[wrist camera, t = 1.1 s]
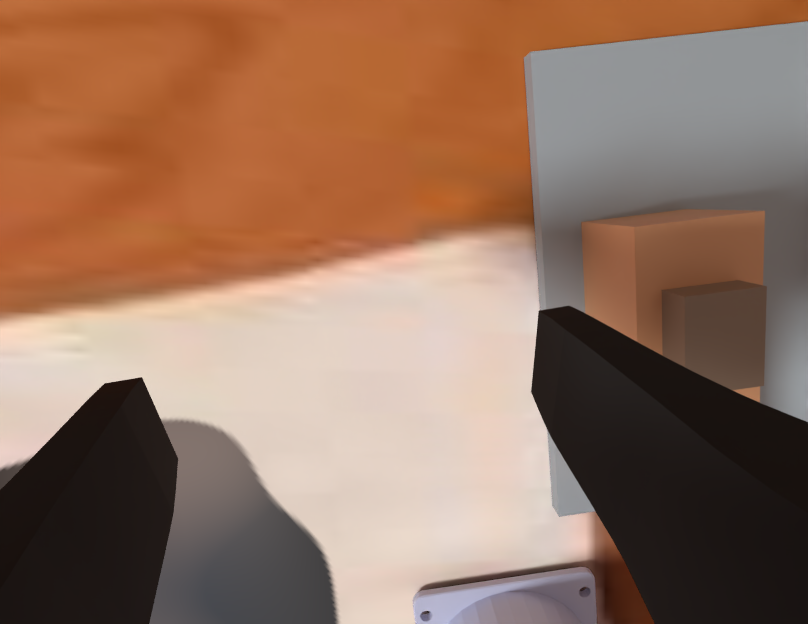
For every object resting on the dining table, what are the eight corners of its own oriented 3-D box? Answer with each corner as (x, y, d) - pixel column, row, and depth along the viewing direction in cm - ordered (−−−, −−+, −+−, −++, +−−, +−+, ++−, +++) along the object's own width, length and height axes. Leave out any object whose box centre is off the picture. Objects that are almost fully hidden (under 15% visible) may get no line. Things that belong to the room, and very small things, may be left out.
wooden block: (687, 454, 22) (784, 531, 17) (592, 467, 22) (661, 549, 16) (686, 209, 20) (797, 211, 15) (581, 221, 19) (655, 229, 14)
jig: (971, 445, 23) (1031, 470, 21) (552, 505, 23) (571, 537, 21) (1023, 2, 20) (1103, -22, 18) (523, 57, 19) (543, 39, 17)
